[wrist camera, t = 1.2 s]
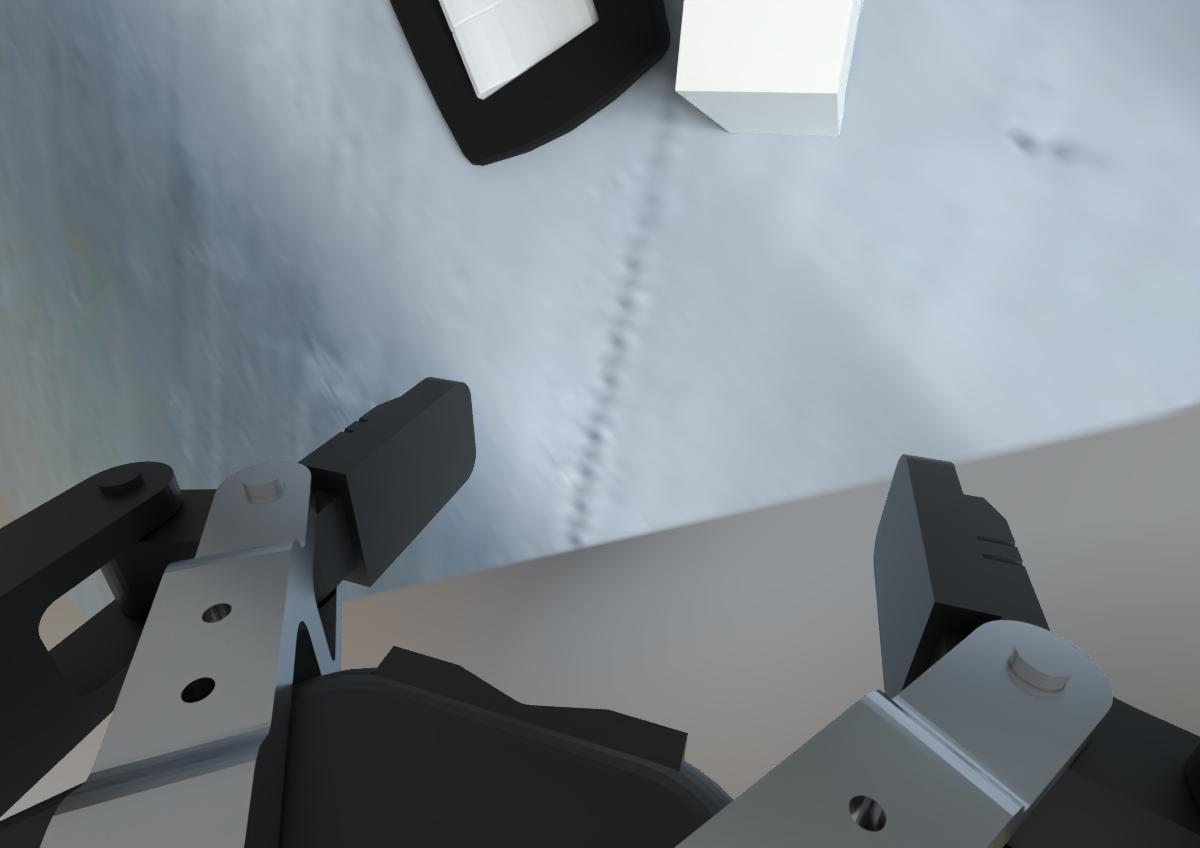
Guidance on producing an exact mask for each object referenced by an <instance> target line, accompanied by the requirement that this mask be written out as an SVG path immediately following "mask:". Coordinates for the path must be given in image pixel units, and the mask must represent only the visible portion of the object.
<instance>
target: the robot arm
mask: <svg viewBox="0 0 1200 848" xmlns="http://www.w3.org/2000/svg"><path fill="white" fill-rule="evenodd" d="M475 458H476V446H475V436H474V425H473V414H472V403H471V394H470V390H469V388H468V386H467V385H466V384H465V383H463V382H457V381H451V380H445V379H439V378H433V377H428V378H426V379H424V380H423V381H421V382H420V383H418V384H417V385H416V386H414V387H413V388H412V389H410V390H409V391H408V392H406V393H405V394H404V395H402V396H401V397H398V398H395V399H393V400H390V401H388V402H385V403H383V404H380V405H378V406H376V407H375V408H373V409H372V410H370V411H369V412H368V413H366V414H365V415H363V416H362V417H361V418H359V422H358V421H355V422H354V423H352V424H351V425H350V426H348V427H347V428H345V431H344V432H340V433H338V434H337V435H336V436H334V437H333V438H331V439H330V440H329V441H327V442H326V443H325V444H323V445H322V446H320V447H319V448H318V449H316V450H315V451H313V452H312V453H311V454H309V455H308V456H306V457H305V458H304V459H302V460H301V461H300V462H298V463H296V462H291V461H274V462H266V463H261V464H257V465H254V466H251V467H248V468H245V469H243V470H240V471H238V472H236V473H235V474H233V475H231V476H230V477H228V478H227V479H225V480H224V481H223V482H222V483H221V484H220V485H219V487H218V488H217V489H207V490H180V488H179V485H178V482H177V480H176V477H175V474H174V472H173V470H172V468H171V467H170V466H168V465H166V464H164V463H160V462H136V463H129V464H125V465H120V466H117V467H113V468H110V469H108V470H105V471H102V472H100V473H98V474H95V475H93V476H91V477H89V478H88V479H86V480H84V481H82V482H81V483H79V484H77V485H75V486H74V487H72V488H70V489H68V490H67V491H65V492H63V493H62V494H60V495H58V496H56V497H55V498H53V499H51V500H49V501H48V502H46V503H44V504H42V505H41V506H39V507H37V508H35V509H34V510H32V511H30V512H28V513H27V514H25V515H23V516H22V517H20V518H18V519H16V520H15V521H13V522H11V523H9V524H8V525H6V526H4V527H2V528H1V529H0V817H1V816H2V815H3V814H4V813H5V812H6V811H7V810H8V809H10V808H11V807H12V806H13V805H14V804H15V803H16V802H17V801H18V800H19V799H20V798H21V797H22V796H23V795H24V794H25V793H26V792H28V790H30V789H31V788H32V787H33V786H34V785H35V784H36V783H37V782H38V781H39V780H40V779H41V778H42V777H43V776H44V775H45V774H46V773H48V772H49V771H50V770H51V769H52V768H53V767H54V766H55V765H56V764H57V763H58V762H59V761H60V760H61V759H63V758H64V757H65V756H66V755H67V754H68V753H69V752H70V751H71V750H72V749H73V748H74V747H75V746H76V745H77V744H78V743H79V742H81V741H82V740H83V739H84V737H86V736H87V735H88V734H89V733H90V732H91V731H92V730H93V729H94V728H95V727H96V726H97V725H99V723H101V722H102V721H103V720H104V719H105V718H106V717H107V716H108V715H109V714H110V713H111V712H112V711H113V710H114V711H113V714H112V716H111V719H110V722H109V725H108V727H107V730H106V733H105V736H104V738H103V741H102V744H101V747H100V749H99V752H98V755H97V757H96V760H95V763H94V766H93V768H92V771H91V773H90V775H89V777H88V779H87V780H86V781H85V782H84V783H81V784H80V785H77V786H75V787H73V788H71V789H69V790H66V791H64V792H62V793H60V794H58V795H56V796H54V797H51V798H49V799H47V800H45V801H43V802H40V803H38V804H36V805H34V806H32V807H30V808H28V809H26V810H23V811H21V812H19V813H17V814H15V815H13V816H10V817H8V818H6V819H4V820H2V821H0V848H1200V737H1199V736H1197V735H1195V734H1193V733H1191V732H1188V731H1186V730H1184V729H1182V728H1179V727H1177V726H1175V725H1173V724H1170V723H1168V722H1166V721H1164V720H1161V719H1159V718H1157V717H1154V716H1152V715H1150V714H1148V713H1145V712H1143V711H1141V710H1139V709H1137V708H1134V707H1132V706H1130V705H1128V704H1126V703H1124V702H1122V701H1120V700H1118V699H1116V698H1115V697H1113V693H1112V688H1111V686H1110V683H1109V681H1108V679H1107V677H1106V676H1105V674H1104V672H1103V671H1102V670H1101V669H1100V667H1099V666H1098V665H1097V664H1096V663H1095V662H1094V661H1093V660H1092V659H1091V658H1090V657H1089V656H1088V655H1087V654H1086V653H1085V652H1083V651H1082V650H1081V649H1079V648H1078V647H1077V646H1075V645H1074V644H1072V643H1071V642H1069V641H1068V640H1066V639H1064V638H1062V637H1060V636H1059V635H1057V634H1055V633H1053V632H1051V631H1050V629H1049V627H1048V624H1047V622H1046V619H1045V617H1044V614H1043V612H1042V609H1041V607H1040V604H1039V601H1038V599H1037V596H1036V594H1035V591H1034V589H1033V586H1032V584H1031V581H1030V579H1029V576H1028V574H1027V571H1026V569H1025V567H1024V566H1022V562H1023V561H1022V559H1021V556H1020V554H1019V551H1018V549H1017V547H1015V546H1014V545H1015V541H1014V538H1013V536H1012V533H1011V531H1010V528H1009V526H1008V523H1007V521H1006V519H1005V518H1004V517H1003V516H1002V515H1001V514H1000V513H999V512H997V510H996V509H995V508H994V507H992V505H990V504H989V503H988V502H987V501H986V500H985V499H984V498H981V497H975V496H970V495H964V494H963V492H962V489H961V485H960V482H959V479H958V476H957V473H956V470H955V467H954V464H953V463H952V462H948V461H942V460H936V459H930V458H924V457H918V456H911V455H905V454H903V455H902V456H901V457H900V459H899V461H898V464H897V467H896V470H895V473H894V476H893V480H892V483H891V487H890V490H889V493H888V497H887V500H886V503H885V507H884V510H883V514H882V517H881V520H880V524H879V527H878V531H877V536H876V541H875V549H874V574H875V585H876V597H877V609H878V620H879V631H880V643H881V654H882V665H883V677H884V689H885V693H883V692H882V691H880V690H875V691H873V692H870V693H868V694H867V695H865V696H864V697H862V698H861V699H860V700H858V701H857V702H856V703H855V704H853V705H852V706H851V707H850V708H848V709H847V710H846V711H845V712H843V713H842V714H841V715H840V716H839V717H837V718H836V719H835V720H833V721H832V722H831V723H830V724H828V725H827V726H826V727H825V728H823V729H822V730H821V731H820V732H818V733H817V734H816V735H815V736H813V737H812V738H811V739H810V740H808V741H807V742H806V743H805V744H803V745H802V746H801V747H800V748H798V749H797V750H796V751H795V752H793V753H792V754H791V755H790V756H788V757H787V758H786V759H785V760H783V761H782V762H781V763H780V764H778V765H777V766H776V767H775V768H773V769H772V770H771V771H770V772H768V773H767V774H766V775H765V776H764V777H762V778H761V779H760V780H758V781H757V782H756V783H755V784H753V785H752V786H751V787H750V788H748V789H747V790H746V791H745V792H743V793H742V794H741V795H740V796H738V797H737V798H736V799H735V800H734V799H732V798H731V797H730V796H729V795H728V794H727V793H726V792H725V791H724V790H723V789H722V788H721V787H720V786H719V785H718V784H717V783H716V782H714V781H713V780H712V779H710V778H709V777H708V776H706V775H705V774H704V773H703V772H701V771H700V770H699V769H697V768H695V767H694V766H692V765H691V764H689V763H687V762H686V761H684V757H685V750H686V742H687V735H688V733H685V732H682V731H678V730H675V729H671V728H668V727H665V726H661V725H658V724H655V723H651V722H648V721H645V720H641V719H638V718H635V717H631V716H628V715H624V714H621V713H617V712H614V711H611V710H605V709H587V708H570V707H553V706H534V705H526V704H522V703H519V702H517V701H515V700H514V699H512V698H511V697H509V696H507V695H506V694H504V693H503V692H501V691H499V690H498V689H496V688H494V687H493V686H491V685H490V684H488V683H487V682H485V681H483V680H482V679H480V678H479V677H477V676H475V675H474V674H472V673H471V672H469V671H467V670H465V669H464V668H463V667H461V666H459V665H456V664H453V663H450V662H446V661H443V660H439V659H436V658H433V657H429V656H426V655H423V654H419V653H416V652H413V651H409V650H406V649H402V648H399V647H396V646H393V648H392V649H391V650H390V652H389V653H388V654H387V656H386V657H385V658H384V659H383V661H382V662H381V663H380V665H379V666H378V667H377V668H363V669H350V670H344V671H342V668H341V667H342V666H341V665H342V664H341V663H342V597H341V593H340V589H339V584H340V583H341V581H342V580H346V581H350V582H353V583H357V584H361V585H364V586H368V587H371V586H372V585H373V584H374V583H375V581H376V580H377V579H378V578H379V577H380V576H381V575H382V574H383V573H384V572H385V570H386V569H387V568H388V567H389V566H390V565H391V564H392V563H393V562H394V560H395V559H396V558H397V557H398V556H399V555H400V554H401V553H402V552H403V551H404V549H405V548H406V547H407V546H408V545H409V544H410V543H411V542H412V541H413V540H414V538H415V537H416V536H417V535H418V534H419V533H420V532H421V531H422V530H423V529H424V527H425V526H426V525H427V524H428V523H429V522H430V521H431V520H432V519H433V517H434V516H435V515H436V514H437V513H438V512H439V511H440V510H441V509H442V508H443V506H444V505H445V504H446V503H447V502H448V501H449V500H450V499H451V498H452V497H453V495H454V494H455V493H456V492H457V491H458V490H459V489H460V488H461V487H462V485H463V484H464V483H465V482H466V481H467V480H468V478H469V477H470V475H471V473H472V470H473V467H474V464H475ZM100 568H101V571H102V573H103V575H104V577H105V579H106V581H107V583H108V585H109V587H110V589H111V591H112V593H113V595H114V597H115V600H114V601H113V602H111V603H110V604H109V605H107V606H106V607H105V608H104V609H102V610H101V611H100V612H98V613H97V614H96V615H95V616H93V617H92V618H91V619H89V620H88V621H87V622H86V623H84V624H83V625H82V626H81V627H79V628H78V629H77V630H75V631H74V632H73V633H71V634H70V635H69V636H68V637H67V638H65V639H64V640H63V641H61V642H60V643H59V644H57V645H56V646H55V647H54V648H52V649H51V650H50V651H47V649H46V647H45V646H44V644H43V642H42V640H41V639H40V636H39V632H38V629H39V628H38V627H39V623H40V620H41V617H42V615H43V614H44V612H45V611H46V609H47V608H48V607H49V606H50V605H51V604H52V603H53V602H54V601H55V600H56V599H58V598H59V597H60V596H62V595H63V594H65V593H66V592H68V591H69V590H70V589H72V588H73V587H75V586H76V585H77V584H79V583H80V582H82V581H83V580H84V579H86V578H87V577H89V576H90V575H91V574H93V573H94V572H96V571H97V570H98V569H100Z"/></svg>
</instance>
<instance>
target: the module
mask: <svg viewBox="0 0 1200 848" xmlns="http://www.w3.org/2000/svg"><path fill="white" fill-rule="evenodd" d="M863 1H864V0H684V6H683V16H682V26H681V36H680V46H679V56H678V66H677V77H676V87H675V91H676V92H677V93H679V94H680V95H681V96H683V97H684V98H685V99H686V100H688V101H689V102H690V103H692V104H693V105H694V106H695V107H697V108H698V109H699V110H701V111H702V112H703V113H705V114H706V115H707V116H708V117H710V118H711V119H712V120H714V121H715V122H716V123H717V124H719V125H720V126H721V127H723V128H724V129H725V130H727V131H728V132H729V133H746V134H773V135H801V136H828V137H839V134H840V128H841V123H842V117H843V112H844V97H845V92H846V86H847V81H848V75H849V69H850V64H851V58H852V53H853V47H854V42H855V36H856V31H857V25H858V20H859V14H860V13H861V12H862V7H863Z"/></svg>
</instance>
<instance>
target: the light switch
mask: <svg viewBox="0 0 1200 848" xmlns="http://www.w3.org/2000/svg"><path fill="white" fill-rule="evenodd" d="M390 1H391V3H392V6H393V8H394V11H395V13H396V15H397V18H398V20H399V22H400V25H401V27H402V29H403V31H404V34H405V36H406V38H407V41H408V43H409V45H410V48H411V50H412V52H413V55H414V57H415V59H416V61H417V63H418V65H419V67H420V70H421V72H422V74H423V76H424V78H425V80H426V82H427V84H428V86H429V88H430V90H431V92H432V94H433V96H434V99H435V101H436V103H437V105H438V107H439V109H440V111H441V113H442V115H443V117H444V119H445V121H446V123H447V124H448V126H449V128H450V130H451V132H452V134H453V135H454V137H455V139H456V141H457V143H458V145H459V146H460V148H461V150H462V152H463V154H464V155H465V157H466V158H467V159H468V160H469V161H470V162H471V163H472V164H473V165H482V166H484V165H487V164H491V163H494V162H497V161H501V160H504V159H507V158H511V157H514V156H517V155H520V154H524V153H527V152H530V151H532V150H534V149H536V148H538V147H540V146H542V145H544V144H546V143H548V142H550V141H552V140H554V139H556V138H558V137H560V136H562V135H564V134H566V133H568V132H570V131H572V130H573V129H575V128H576V127H577V126H579V125H580V124H582V123H583V122H585V121H586V120H587V119H589V118H590V117H592V116H593V115H594V114H596V113H597V112H599V111H600V110H602V109H603V108H604V107H606V106H607V105H609V104H610V103H611V102H613V101H614V100H616V99H617V98H618V97H619V96H620V95H621V94H622V93H624V92H625V91H626V90H627V89H628V88H629V87H630V86H631V85H632V84H633V83H635V82H636V81H637V80H638V79H639V78H640V77H641V76H642V75H643V74H645V73H646V72H647V71H648V70H649V69H650V68H651V67H652V66H653V65H654V64H656V63H657V62H658V61H659V60H660V59H661V58H662V57H663V56H664V55H665V53H666V51H667V50H668V48H669V46H670V32H669V27H668V22H667V18H666V13H665V8H664V3H663V0H390Z"/></svg>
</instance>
